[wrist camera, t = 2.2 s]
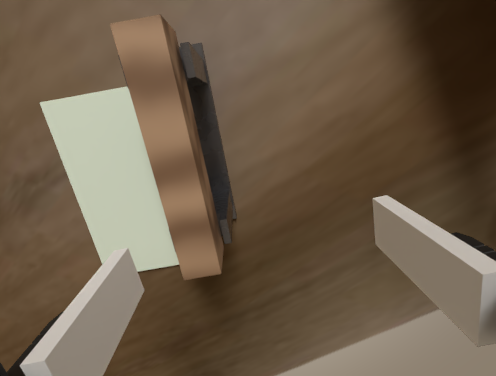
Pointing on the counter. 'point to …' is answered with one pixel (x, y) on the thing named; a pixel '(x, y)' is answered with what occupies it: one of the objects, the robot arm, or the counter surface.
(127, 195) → the mat
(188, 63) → the rack
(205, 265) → the rail
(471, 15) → the counter surface
